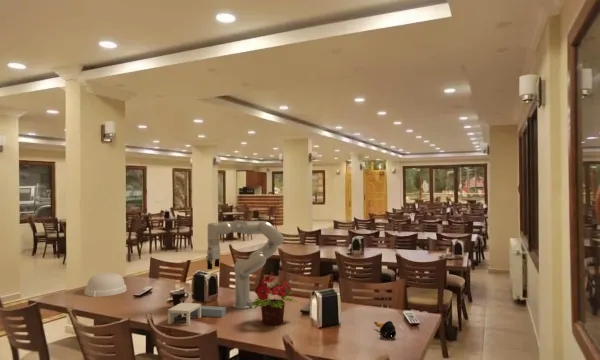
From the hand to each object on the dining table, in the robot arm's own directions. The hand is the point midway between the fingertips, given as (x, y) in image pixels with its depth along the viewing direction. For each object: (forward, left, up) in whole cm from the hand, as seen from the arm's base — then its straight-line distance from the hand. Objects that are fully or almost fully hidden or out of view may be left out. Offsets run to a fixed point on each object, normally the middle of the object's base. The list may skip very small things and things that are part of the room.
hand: (213, 267), depth 287 cm
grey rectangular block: (0, +12, -27) cm, 30 cm away
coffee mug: (+24, 0, -27) cm, 36 cm away
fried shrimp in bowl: (-111, +25, -28) cm, 117 cm away
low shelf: (+6, +26, -27) cm, 38 cm away
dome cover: (+103, -28, -28) cm, 110 cm away
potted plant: (-46, +21, -27) cm, 58 cm away
